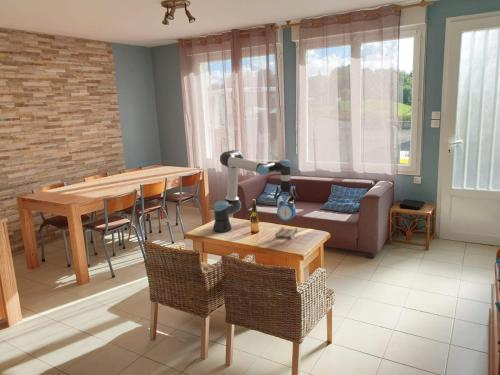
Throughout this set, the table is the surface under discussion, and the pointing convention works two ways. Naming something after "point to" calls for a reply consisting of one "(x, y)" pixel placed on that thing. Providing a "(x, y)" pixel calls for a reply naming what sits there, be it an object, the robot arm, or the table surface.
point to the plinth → (286, 233)
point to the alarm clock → (286, 211)
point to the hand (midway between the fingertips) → (286, 207)
